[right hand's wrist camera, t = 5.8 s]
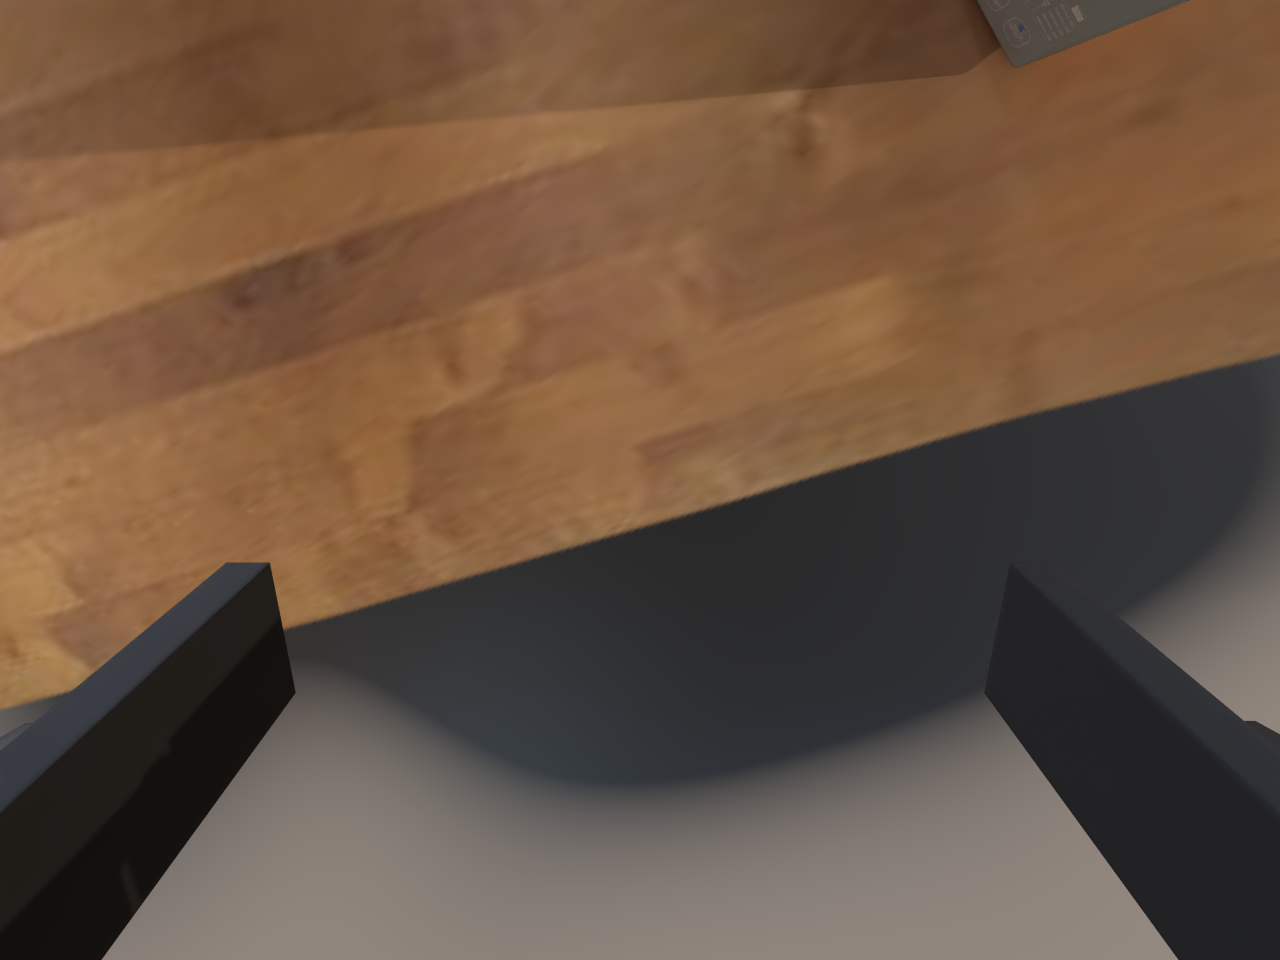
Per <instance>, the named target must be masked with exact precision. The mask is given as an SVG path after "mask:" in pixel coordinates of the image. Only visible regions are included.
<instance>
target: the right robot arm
mask: <svg viewBox="0 0 1280 960" xmlns="http://www.w3.org/2000/svg"><path fill="white" fill-rule="evenodd" d="M294 694H295V687H294V682H293V677H292V672H291V667H290V662H289V657H288V652H287V647H286V642H285V637H284V632H283V627H282V622H281V617H280V612H279V607H278V602H277V597H276V592H275V586H274V581H273V576H272V571H271V566H270V563H226V564H224V565H223V566H222V567H221V568H220V569H218V570H217V571H216V572H215V573H214V574H212V575H211V576H210V577H209V578H208V579H206V580H205V581H204V582H203V583H201V584H200V585H199V586H198V587H197V588H195V589H194V590H193V591H192V592H191V593H189V594H188V595H187V596H186V597H185V598H183V599H182V600H181V601H180V602H179V603H177V604H176V605H175V606H174V607H173V608H171V609H170V610H169V611H168V612H167V613H165V614H164V615H163V616H162V617H161V618H159V619H158V620H157V621H156V622H155V623H153V624H152V625H151V626H150V627H149V628H147V629H146V630H145V631H144V632H143V633H141V634H140V635H139V636H138V637H136V638H135V639H134V640H133V641H132V642H130V643H129V644H128V645H127V646H126V647H124V648H123V649H122V650H121V651H120V652H118V653H117V654H116V655H115V656H114V657H112V658H111V659H110V660H109V661H108V662H106V663H105V664H104V665H103V666H102V667H100V668H99V669H98V670H97V671H96V672H94V673H93V674H92V675H91V676H90V677H88V678H87V679H86V680H85V681H84V682H82V683H81V684H80V685H79V686H78V687H76V688H75V689H74V690H73V691H72V692H70V693H69V694H68V695H67V696H65V697H64V698H63V699H62V700H61V701H59V702H58V703H57V704H56V705H55V706H54V707H52V708H51V709H50V710H49V711H47V712H46V713H45V714H44V715H43V716H41V717H40V718H39V719H38V720H37V721H35V722H34V723H33V724H24V725H22V726H20V727H18V728H17V729H15V730H13V731H11V732H9V733H7V734H6V735H4V736H2V737H0V960H102V958H103V957H104V956H105V954H106V953H107V951H108V950H109V949H110V947H111V946H112V945H113V943H114V942H115V940H116V939H117V938H118V936H119V935H120V934H121V932H122V931H123V929H124V928H125V927H126V925H127V924H128V923H129V921H130V920H131V918H132V917H133V916H134V914H135V913H136V912H137V910H138V909H139V907H140V906H141V905H142V903H143V902H144V901H145V899H146V898H147V896H148V895H149V894H150V892H151V891H152V890H153V888H154V887H155V885H156V884H157V883H158V881H159V880H160V879H161V877H162V876H163V874H164V873H165V872H166V870H167V869H168V868H169V866H170V865H171V863H172V862H173V861H174V859H175V858H176V857H177V855H178V854H179V852H180V851H181V850H182V848H183V847H184V846H185V844H186V843H187V841H188V840H189V839H190V837H191V836H192V835H193V833H194V832H195V830H196V829H197V828H198V826H199V825H200V824H201V822H202V821H203V819H204V818H205V817H206V815H207V814H208V813H209V811H210V810H211V808H212V807H213V806H214V804H215V803H216V802H217V800H218V799H219V797H220V796H221V795H222V793H223V792H224V790H225V789H226V788H227V786H228V785H229V784H230V782H231V781H232V780H233V778H234V777H235V775H236V774H237V773H238V771H239V770H240V769H241V767H242V766H243V764H244V763H245V762H246V760H247V759H248V757H249V756H250V755H251V753H252V752H253V751H254V749H255V748H256V747H257V745H258V744H259V742H260V741H261V740H262V738H263V737H264V736H265V734H266V733H267V731H268V730H269V729H270V727H271V726H272V724H273V723H274V722H275V720H276V719H277V718H278V716H279V715H280V714H281V712H282V711H283V709H284V708H285V707H286V705H287V704H288V703H289V701H290V700H291V698H292V697H293V696H294ZM985 694H986V696H987V697H988V698H989V700H990V701H991V703H992V704H993V705H994V707H995V708H996V709H997V711H998V712H999V714H1000V715H1001V716H1002V718H1003V719H1004V720H1005V722H1006V723H1007V724H1008V726H1009V727H1010V729H1011V730H1012V731H1013V733H1014V734H1015V736H1016V737H1017V738H1018V740H1019V741H1020V742H1021V744H1022V745H1023V746H1024V748H1025V749H1026V751H1027V752H1028V753H1029V755H1030V756H1031V757H1032V759H1033V760H1034V762H1035V763H1036V764H1037V766H1038V767H1039V769H1040V770H1041V771H1042V773H1043V774H1044V775H1045V777H1046V778H1047V780H1048V781H1049V782H1050V784H1051V785H1052V786H1053V788H1054V789H1055V791H1056V792H1057V793H1058V795H1059V796H1060V797H1061V799H1062V800H1063V802H1064V803H1065V804H1066V806H1067V807H1068V808H1069V810H1070V811H1071V813H1072V814H1073V815H1074V817H1075V818H1076V819H1077V821H1078V822H1079V824H1080V825H1081V826H1082V828H1083V829H1084V830H1085V832H1086V833H1087V835H1088V836H1089V837H1090V839H1091V840H1092V841H1093V843H1094V844H1095V845H1096V847H1097V848H1098V850H1099V851H1100V852H1101V854H1102V855H1103V857H1104V858H1105V859H1106V861H1107V862H1108V863H1109V865H1110V866H1111V867H1112V869H1113V870H1114V872H1115V873H1116V874H1117V876H1118V877H1119V878H1120V880H1121V881H1122V883H1123V884H1124V885H1125V887H1126V888H1127V890H1128V891H1129V892H1130V894H1131V895H1132V896H1133V898H1134V899H1135V901H1136V902H1137V903H1138V905H1139V906H1140V907H1141V909H1142V910H1143V912H1144V913H1145V914H1146V916H1147V917H1148V918H1149V920H1150V921H1151V923H1152V924H1153V925H1154V927H1155V928H1156V929H1157V931H1158V932H1159V934H1160V935H1161V936H1162V938H1163V939H1164V940H1165V942H1166V943H1167V945H1168V946H1169V947H1170V949H1171V950H1172V951H1173V953H1174V954H1175V956H1176V957H1177V958H1178V960H1280V734H1278V733H1276V732H1274V731H1273V730H1271V729H1269V728H1267V727H1265V726H1263V725H1262V724H1260V723H1258V722H1256V721H1243V720H1242V719H1241V718H1240V717H1239V716H1237V715H1236V714H1235V713H1234V712H1233V711H1231V710H1230V709H1229V708H1228V707H1227V706H1225V705H1224V704H1223V703H1222V702H1221V701H1219V700H1218V699H1217V698H1216V697H1215V696H1213V695H1212V694H1211V693H1210V692H1208V691H1207V690H1206V689H1205V688H1204V687H1202V686H1201V685H1200V684H1199V683H1198V682H1196V681H1195V680H1194V679H1193V678H1192V677H1190V676H1189V675H1188V674H1187V673H1186V672H1184V671H1183V670H1182V669H1181V668H1180V667H1178V666H1177V665H1176V664H1175V663H1174V662H1172V661H1171V660H1170V659H1169V658H1168V657H1166V656H1165V655H1164V654H1163V653H1162V652H1160V651H1159V650H1158V649H1157V648H1156V647H1154V646H1153V645H1152V644H1151V643H1150V642H1148V641H1147V640H1146V639H1145V638H1143V637H1142V636H1141V635H1140V634H1139V633H1137V632H1136V631H1135V630H1134V629H1133V628H1131V627H1130V626H1129V625H1128V624H1127V623H1125V622H1124V621H1123V620H1122V619H1121V618H1119V617H1118V616H1117V615H1116V614H1115V613H1113V612H1112V611H1111V610H1110V609H1109V608H1107V607H1106V606H1105V605H1104V604H1102V603H1101V602H1100V601H1099V600H1098V599H1097V598H1095V597H1094V596H1093V595H1092V594H1091V593H1089V592H1088V591H1087V590H1086V589H1085V588H1083V587H1082V586H1081V585H1080V584H1079V583H1077V582H1076V581H1075V580H1074V579H1072V578H1071V577H1070V576H1069V575H1068V574H1066V573H1065V572H1064V571H1063V570H1062V569H1060V568H1059V567H1058V566H1057V565H1056V564H1054V563H1010V566H1009V571H1008V577H1007V582H1006V586H1005V592H1004V597H1003V602H1002V607H1001V612H1000V617H999V622H998V627H997V632H996V637H995V642H994V647H993V652H992V657H991V662H990V667H989V672H988V677H987V682H986V687H985Z"/></svg>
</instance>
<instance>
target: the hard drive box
mask: <svg viewBox="0 0 1280 960" xmlns="http://www.w3.org/2000/svg"><path fill="white" fill-rule="evenodd" d="M1187 1H1189V0H977V2H978V4H979V5H980V7H981V9H982V11H983V13H984V15H985V16H986V18H987V20H988V22H989V24H990V26H991V28H992V29H993V31H994V33H995V35H996V37H997V39H998V41H999V42H1000V44H1001V46H1002V48H1003V50H1004V51H1005V53H1006V55H1007V57H1008V59H1009V60H1010V62H1011V63H1012V65H1013V67H1015V68H1018V67H1021V66H1023V65H1026V64H1028V63H1031V62H1034V61H1036V60H1039V59H1042V58H1044V57H1047V56H1050V55H1052V54H1055V53H1058V52H1060V51H1063V50H1065V49H1068V48H1070V47H1073V46H1075V45H1078V44H1081V43H1083V42H1086V41H1088V40H1091V39H1093V38H1095V37H1098V36H1100V35H1103V34H1106V33H1108V32H1111V31H1113V30H1116V29H1118V28H1121V27H1123V26H1126V25H1128V24H1131V23H1133V22H1136V21H1139V20H1141V19H1144V18H1146V17H1149V16H1151V15H1154V14H1156V13H1159V12H1161V11H1164V10H1166V9H1169V8H1171V7H1174V6H1176V5H1179V4H1182V3H1184V2H1187Z"/></svg>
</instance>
